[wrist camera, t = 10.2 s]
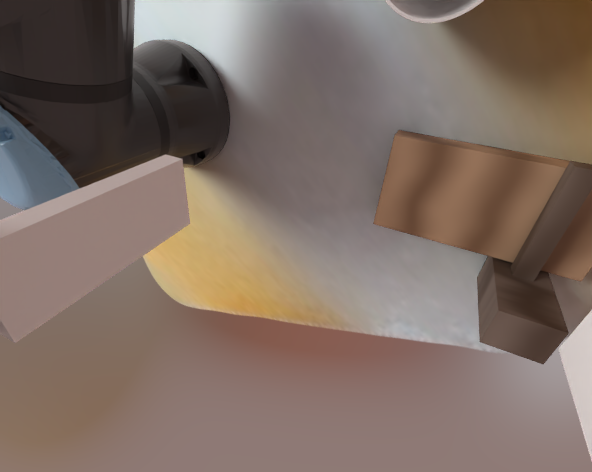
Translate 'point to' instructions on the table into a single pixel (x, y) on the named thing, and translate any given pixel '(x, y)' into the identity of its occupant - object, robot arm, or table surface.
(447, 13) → the cup
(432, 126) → the table surface
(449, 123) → the table surface
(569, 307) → the table surface
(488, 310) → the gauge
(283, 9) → the table surface
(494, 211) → the board
